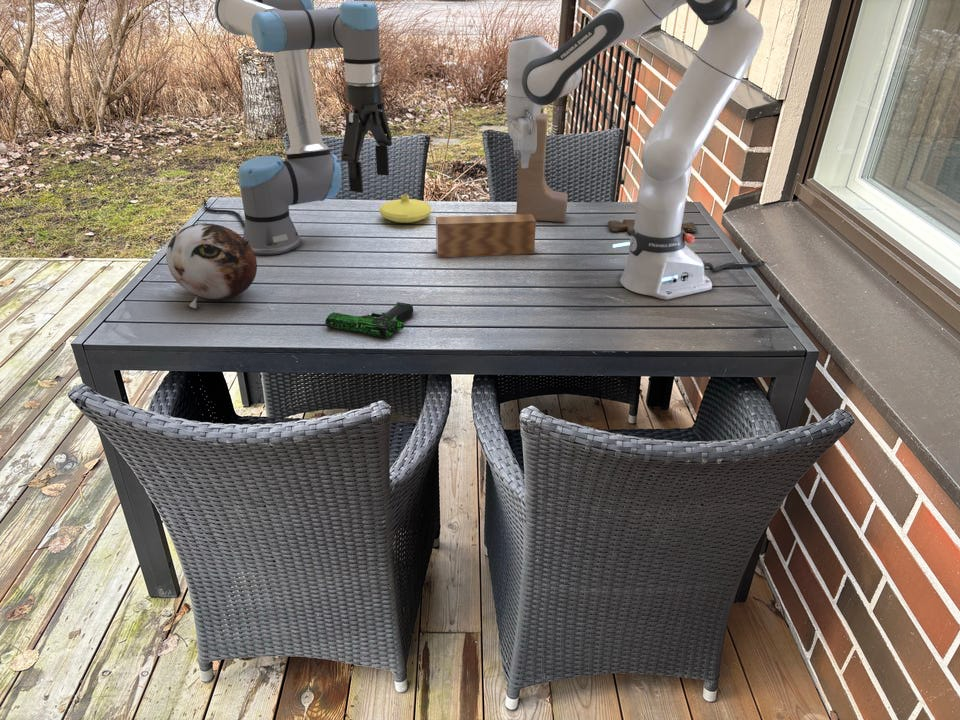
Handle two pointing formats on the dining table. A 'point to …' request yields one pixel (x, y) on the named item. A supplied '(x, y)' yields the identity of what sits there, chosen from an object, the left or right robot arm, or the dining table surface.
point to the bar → (485, 235)
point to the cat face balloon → (211, 261)
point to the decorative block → (539, 184)
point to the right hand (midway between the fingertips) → (520, 162)
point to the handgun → (373, 321)
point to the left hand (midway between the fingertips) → (370, 182)
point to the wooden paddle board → (628, 225)
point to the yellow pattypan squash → (405, 210)
